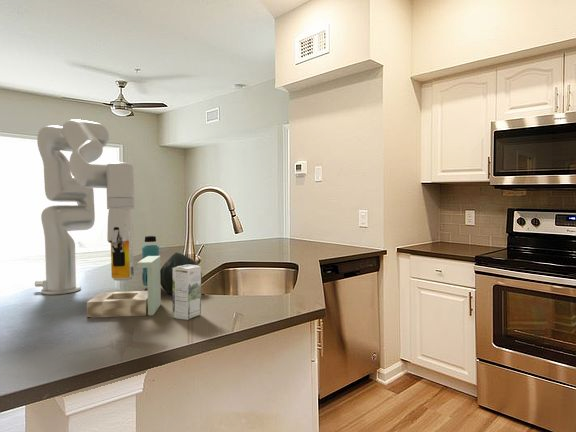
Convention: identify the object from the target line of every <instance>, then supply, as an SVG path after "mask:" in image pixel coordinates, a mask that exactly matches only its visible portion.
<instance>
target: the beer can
mask: <svg viewBox="0 0 576 432" xmlns="http://www.w3.org/2000/svg"><path fill="white" fill-rule="evenodd" d="M133 235H134V232H132V230H131V229H129V231H128V235H127V241H126V242H124V251H123V252H125V266H113V251H112V250H113V247H112V246H113V244H112V243H110V264H111V278H112V280H113V281H116V282H118V281H119V282H120V281H122V282H123V281H129V280H132V278H133V277H134V270H135V269H134V267H135V266H134V242H133V241H134V240H133V239H134V236H133ZM119 241H121V239H118V242H119ZM111 242H112V241H111ZM120 247H121V244H120Z"/></svg>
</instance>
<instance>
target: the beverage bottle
mask: <svg viewBox="0 0 576 432" xmlns="http://www.w3.org/2000/svg"><path fill="white" fill-rule="evenodd" d="M144 242H145V243H154V242H157V237H156V235H155V236H154V235H147V236H144ZM141 253H142V255H141V260H142V259H144V258H145V257H147V256H160V246H158V245H157V244H145V245H143V246H142V248H141ZM141 270H142V273H141V274H142V275H141V276H142V277H141V280H142V285H143V286H144V287H148V285H147V268H141Z"/></svg>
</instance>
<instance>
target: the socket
mask: <svg viewBox="0 0 576 432" xmlns="http://www.w3.org/2000/svg"><path fill="white" fill-rule="evenodd" d="M147 315H148V290H137V291H136V290H133V291H132V290H131V291H107V292H105V291H103V292H102V291H101V292H100V293H98V294H97V295H95V296H93V297H92V298H90V299H89V300H88V301H86V318H87V317H95V318H113V317H117V318H119V317H134V316H135V317H137V316H138V317H140V316H142V317H143V316H147Z"/></svg>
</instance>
